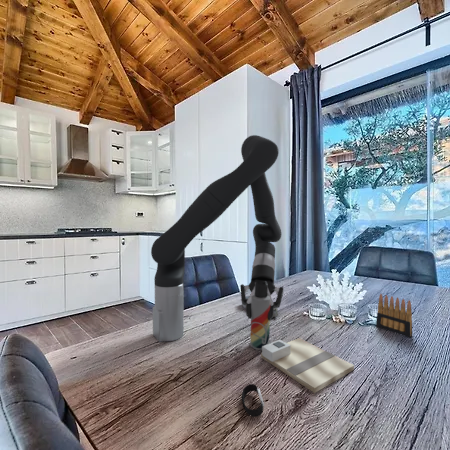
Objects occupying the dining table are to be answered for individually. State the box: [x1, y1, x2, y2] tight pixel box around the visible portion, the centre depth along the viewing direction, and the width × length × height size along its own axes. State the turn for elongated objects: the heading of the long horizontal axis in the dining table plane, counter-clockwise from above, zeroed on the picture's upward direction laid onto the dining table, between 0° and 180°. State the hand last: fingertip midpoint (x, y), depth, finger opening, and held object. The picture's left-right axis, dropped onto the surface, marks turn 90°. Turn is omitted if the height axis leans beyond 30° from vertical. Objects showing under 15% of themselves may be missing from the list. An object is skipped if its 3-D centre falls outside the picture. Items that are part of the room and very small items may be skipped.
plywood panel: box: [260, 337, 355, 394], centre depth 73 cm, size 16×18×1 cm
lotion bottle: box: [249, 281, 271, 351], centre depth 81 cm, size 6×6×20 cm
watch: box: [241, 383, 265, 418], centre depth 57 cm, size 8×5×4 cm, turn 5°
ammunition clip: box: [375, 293, 413, 338], centre depth 92 cm, size 11×2×12 cm, turn 36°
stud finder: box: [261, 339, 291, 362], centre depth 75 cm, size 7×4×3 cm, turn 124°
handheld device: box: [240, 295, 279, 318], centre depth 111 cm, size 10×20×5 cm, turn 29°
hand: (259, 318), depth 80 cm, fingers closed on lotion bottle, 5 cm apart
